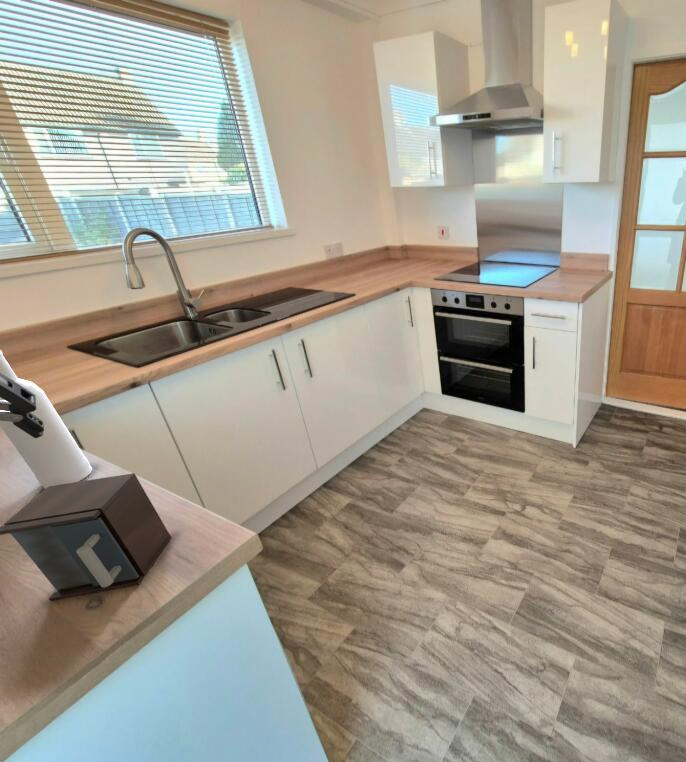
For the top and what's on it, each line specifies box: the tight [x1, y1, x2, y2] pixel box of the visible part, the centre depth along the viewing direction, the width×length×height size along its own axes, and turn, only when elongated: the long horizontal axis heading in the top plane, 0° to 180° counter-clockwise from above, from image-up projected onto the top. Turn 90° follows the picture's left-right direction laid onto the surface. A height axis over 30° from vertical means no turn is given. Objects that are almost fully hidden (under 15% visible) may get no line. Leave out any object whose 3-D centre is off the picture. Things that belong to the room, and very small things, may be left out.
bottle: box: [0, 349, 93, 490], centre depth 84 cm, size 8×8×30 cm
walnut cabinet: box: [0, 472, 172, 602], centre depth 65 cm, size 12×10×14 cm
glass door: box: [51, 518, 139, 588], centre depth 61 cm, size 6×4×12 cm, turn 101°
